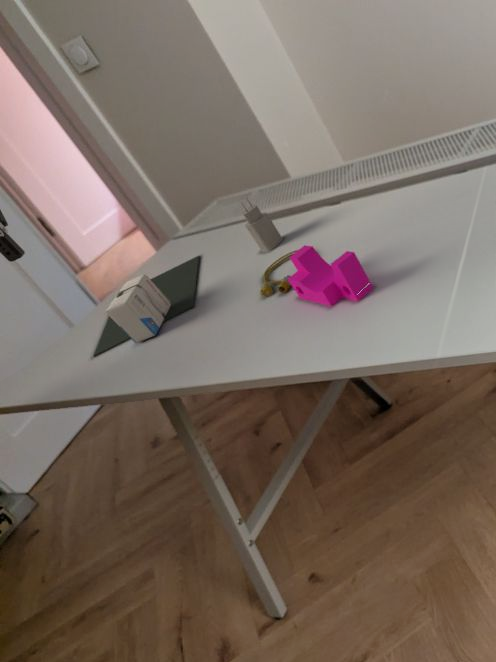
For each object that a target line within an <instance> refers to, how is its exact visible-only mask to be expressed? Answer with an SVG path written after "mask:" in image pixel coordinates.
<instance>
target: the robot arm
mask: <svg viewBox="0 0 496 662" xmlns="http://www.w3.org/2000/svg"><path fill="white" fill-rule="evenodd" d="M8 226H9V223H8V221H7V219H6V217H5V216H4V213H3V212H2V210H1V209H0V254H1V255H2V256H3V257H4V258H5V259H6V260H7V261H9V262H15V261H17V260H19V259H21V258H22V257H24V255H26V252H25V250H24V249H23V248H22V247H21V246H20V245H19V244H18V243H17V242H16V241H15V240H14V239H13V238H12V237H11V235H9V234H8V232H9V230H8V229H7V227H8Z"/></svg>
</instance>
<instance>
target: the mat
mask: <svg viewBox="0 0 496 662" xmlns="http://www.w3.org/2000/svg"><path fill="white" fill-rule="evenodd" d="M200 258H201V256H200V255H197V256H195V257H193V258H192V259H189V260H187V261H185V262H183V263H181V264H179V265H177V266H175V267H173V268H170V269H169V270H167V271H165V272H162V273H161V274H158V275H157V276H155V277H152V278H149V279H150V280H151V281H152V282H153V283H154V284H155V285H156V287H157V288H158V289H159V290H160V291H161V292H162V293H163V294H164V295H165V296H166V298H167V299H168V300H169V301H170V304H171V307H170V309H169V311H168V313H167V315H166V317H165V318H164V320H163V322H162V324H163V323H166V322H168V321H169V320H172V319H174V318H176V317H177V316H180V315H181V314H184V313H185V312H188V311H189V310H192V309H194V308H195V302H196V293H197V284H198V275H199V267H200ZM130 340H132V339H131V338H130V337H129V336H128V335H127V334H126V333H125V332H124V331H123V330H122V328H121V327H120V326H119V325H118V324H117V323H116V322H115V321H114V320H113V319H112V318H111V317H110V316H109V315H108V317H107V320H106V323H105V326H104V329H103V330H102V334H101V336H100V338H99V341H98V343H97V345H96V348H95V350H94V353H93V357H94V358H95V357H98V356H100V355H102V354H104V353H106V352H108V351H110V350H111V349H114V348H116V347H118V346H120V345H122V344H124V343H126V342H128V341H130Z"/></svg>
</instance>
